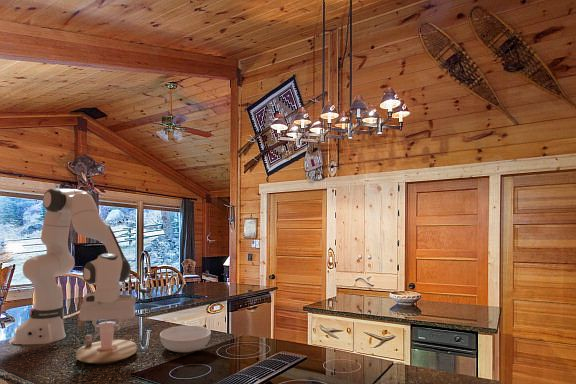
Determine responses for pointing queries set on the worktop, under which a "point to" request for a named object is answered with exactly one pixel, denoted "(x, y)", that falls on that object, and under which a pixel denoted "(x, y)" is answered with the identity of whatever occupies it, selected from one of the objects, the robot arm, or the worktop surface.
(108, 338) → the smoothie
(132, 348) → the round wooden board
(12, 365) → the worktop surface
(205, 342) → the serving bowl
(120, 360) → the turntable base
